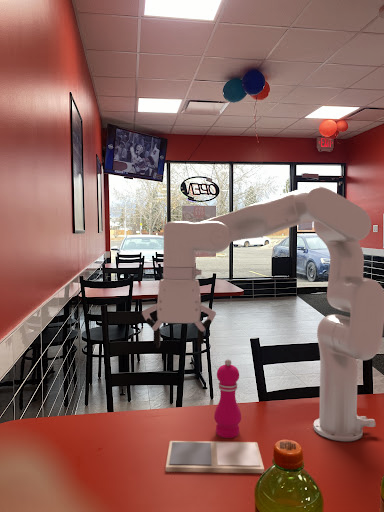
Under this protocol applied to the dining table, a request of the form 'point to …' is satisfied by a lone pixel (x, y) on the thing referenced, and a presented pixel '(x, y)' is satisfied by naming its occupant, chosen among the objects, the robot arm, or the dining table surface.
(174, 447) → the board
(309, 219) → the robot arm
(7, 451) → the dining table surface
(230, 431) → the pepper mill
